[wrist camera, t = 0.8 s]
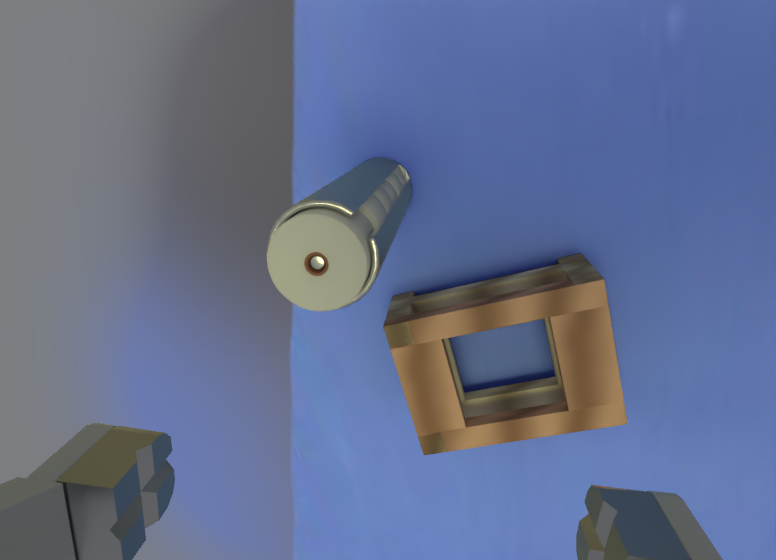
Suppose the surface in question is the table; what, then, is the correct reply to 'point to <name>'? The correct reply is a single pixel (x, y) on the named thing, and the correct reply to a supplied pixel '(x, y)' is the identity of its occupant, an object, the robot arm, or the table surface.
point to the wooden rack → (521, 400)
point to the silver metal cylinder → (339, 236)
